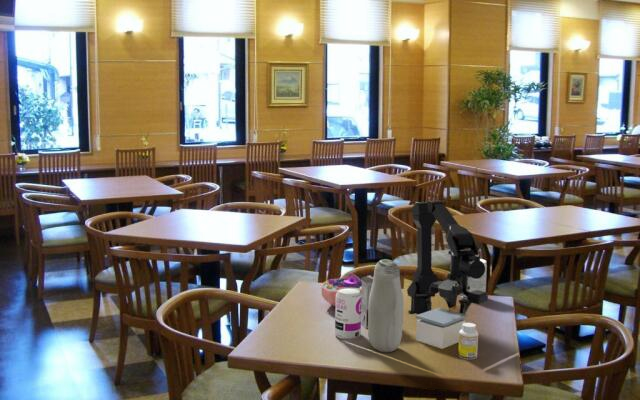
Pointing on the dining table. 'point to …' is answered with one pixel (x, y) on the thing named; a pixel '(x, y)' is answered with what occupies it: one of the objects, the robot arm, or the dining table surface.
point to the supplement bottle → (468, 341)
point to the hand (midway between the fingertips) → (456, 317)
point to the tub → (438, 334)
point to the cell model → (339, 287)
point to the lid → (442, 316)
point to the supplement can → (348, 313)
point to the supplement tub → (478, 281)
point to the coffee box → (365, 299)
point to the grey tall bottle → (385, 307)
